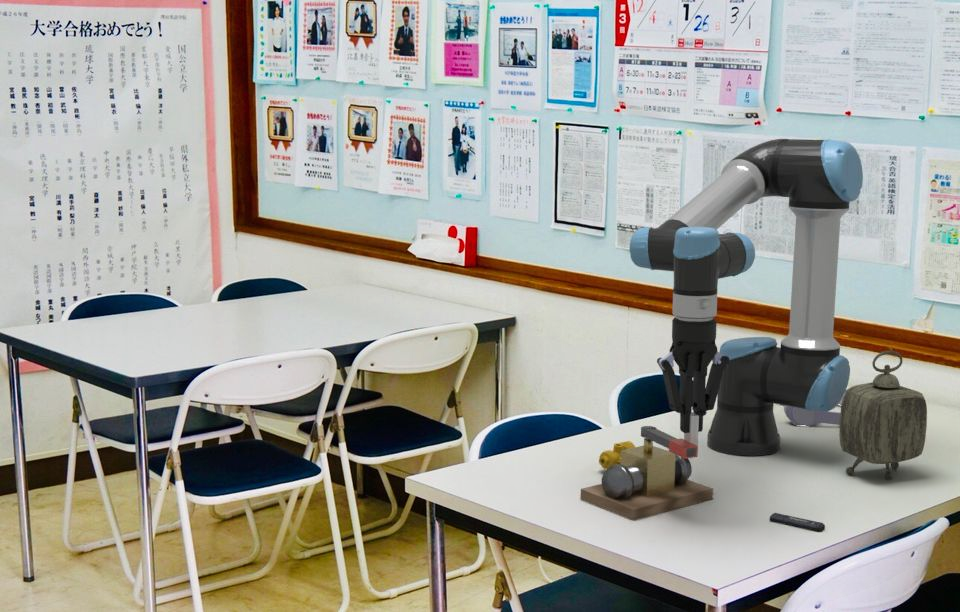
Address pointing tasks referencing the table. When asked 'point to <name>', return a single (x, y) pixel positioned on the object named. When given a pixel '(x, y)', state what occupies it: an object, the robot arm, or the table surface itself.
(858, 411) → the tabletop clock
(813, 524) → the usb stick
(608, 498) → the valve plinth
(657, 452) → the pipe valve
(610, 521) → the table surface
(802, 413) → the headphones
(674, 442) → the valve lever
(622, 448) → the pressure relief valve
